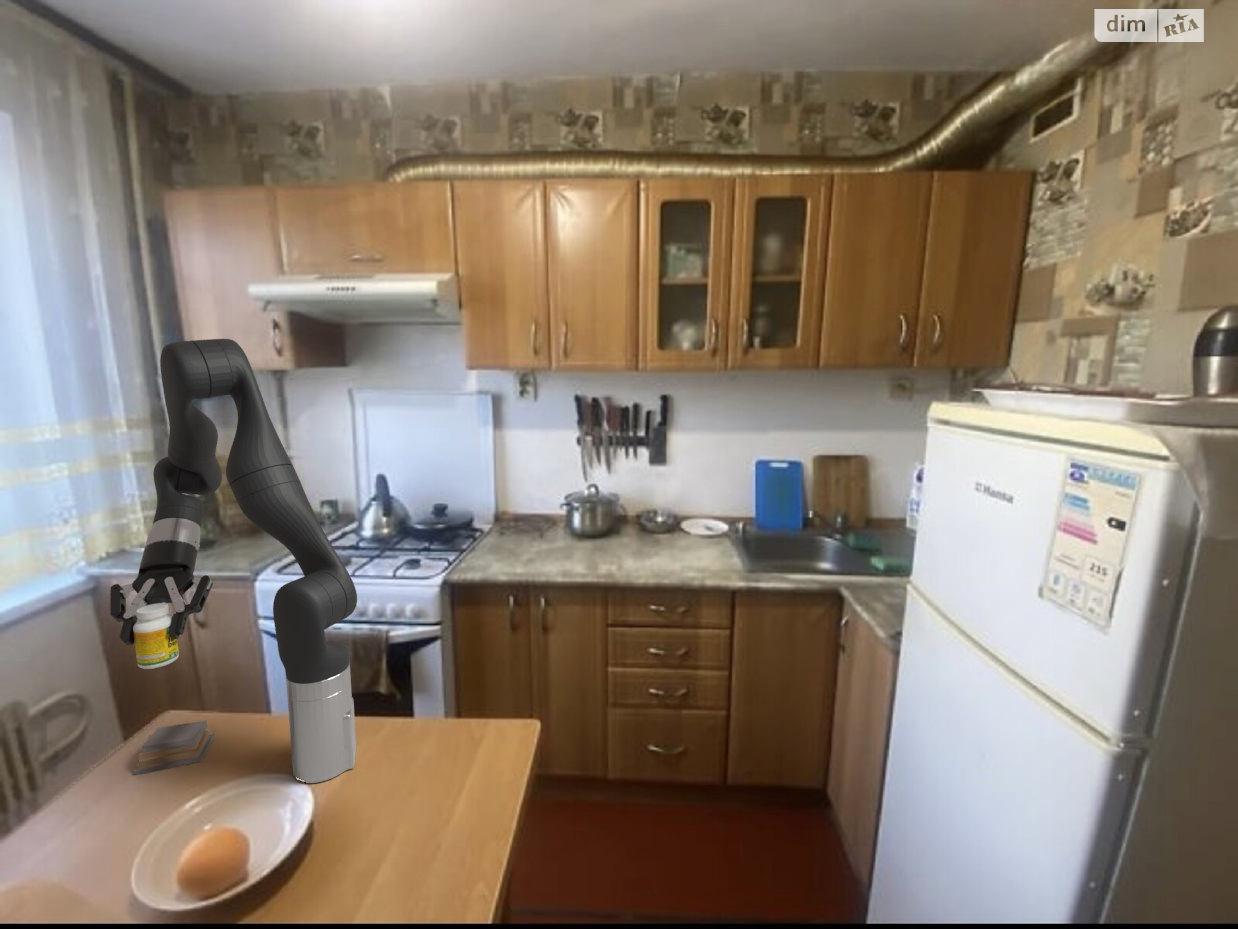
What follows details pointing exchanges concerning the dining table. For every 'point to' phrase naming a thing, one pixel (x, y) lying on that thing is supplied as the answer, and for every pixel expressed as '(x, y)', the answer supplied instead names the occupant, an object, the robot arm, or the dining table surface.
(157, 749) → the offcut stack
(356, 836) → the dining table surface
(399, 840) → the dining table surface
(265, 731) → the dining table surface
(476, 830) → the dining table surface
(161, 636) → the supplement bottle
